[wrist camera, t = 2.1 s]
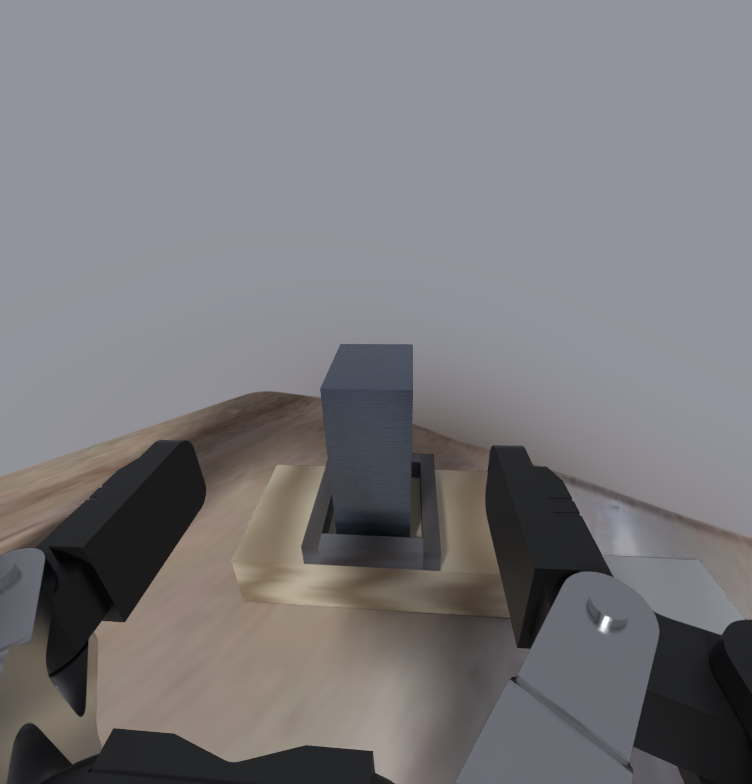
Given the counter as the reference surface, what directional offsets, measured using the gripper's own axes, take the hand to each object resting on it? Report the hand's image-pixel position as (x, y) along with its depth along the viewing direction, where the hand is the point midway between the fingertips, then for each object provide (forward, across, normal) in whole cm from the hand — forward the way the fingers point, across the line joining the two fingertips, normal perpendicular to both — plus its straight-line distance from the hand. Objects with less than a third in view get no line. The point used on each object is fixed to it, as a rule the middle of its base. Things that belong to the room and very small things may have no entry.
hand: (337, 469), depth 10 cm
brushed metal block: (+12, 0, +13) cm, 17 cm away
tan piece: (+12, 0, +17) cm, 20 cm away
